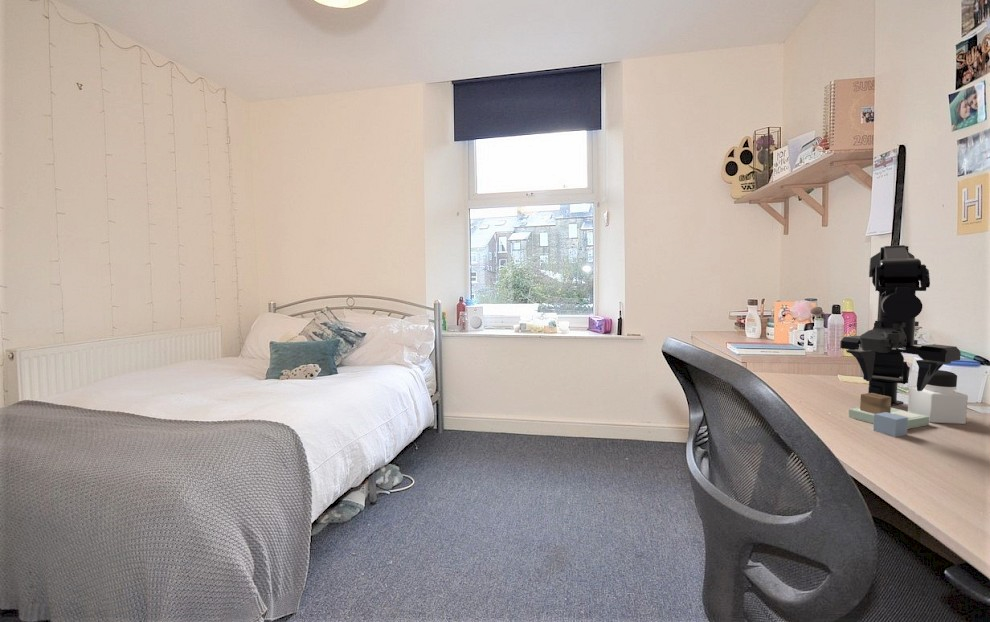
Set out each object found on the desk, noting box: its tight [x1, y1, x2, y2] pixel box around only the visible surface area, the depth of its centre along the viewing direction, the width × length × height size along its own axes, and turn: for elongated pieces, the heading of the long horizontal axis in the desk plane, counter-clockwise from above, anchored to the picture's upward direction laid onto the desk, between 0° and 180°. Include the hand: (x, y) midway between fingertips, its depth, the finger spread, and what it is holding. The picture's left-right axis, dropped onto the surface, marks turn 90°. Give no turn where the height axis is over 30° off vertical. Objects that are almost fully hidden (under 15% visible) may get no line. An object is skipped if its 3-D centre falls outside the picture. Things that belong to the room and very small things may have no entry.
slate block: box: [873, 412, 908, 438], centre depth 91 cm, size 4×4×4 cm
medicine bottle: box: [907, 369, 969, 425], centre depth 99 cm, size 7×7×12 cm
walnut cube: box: [859, 393, 892, 414], centre depth 99 cm, size 4×4×4 cm
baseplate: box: [848, 407, 930, 430], centre depth 98 cm, size 11×10×2 cm
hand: (892, 385), depth 90 cm, fingers open, 9 cm apart
